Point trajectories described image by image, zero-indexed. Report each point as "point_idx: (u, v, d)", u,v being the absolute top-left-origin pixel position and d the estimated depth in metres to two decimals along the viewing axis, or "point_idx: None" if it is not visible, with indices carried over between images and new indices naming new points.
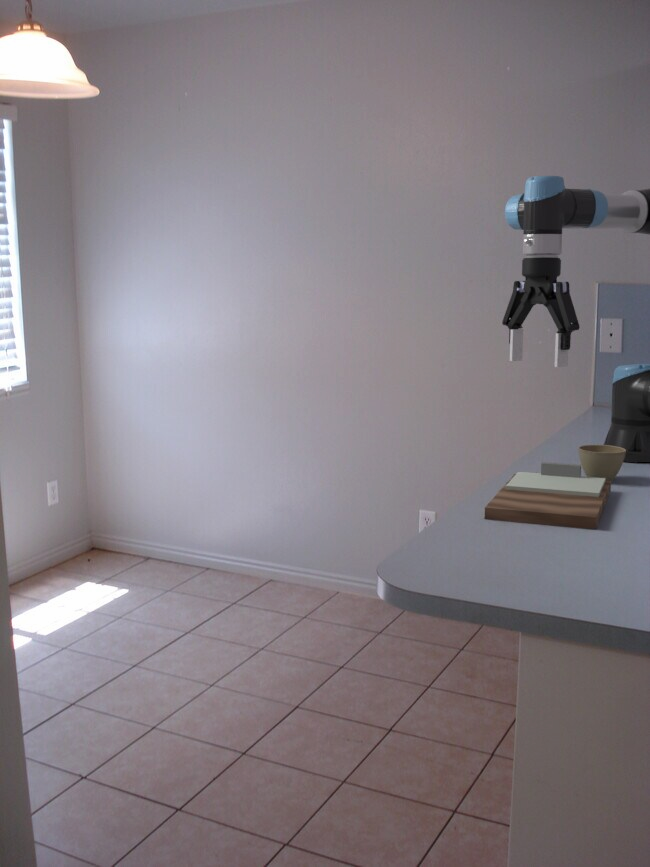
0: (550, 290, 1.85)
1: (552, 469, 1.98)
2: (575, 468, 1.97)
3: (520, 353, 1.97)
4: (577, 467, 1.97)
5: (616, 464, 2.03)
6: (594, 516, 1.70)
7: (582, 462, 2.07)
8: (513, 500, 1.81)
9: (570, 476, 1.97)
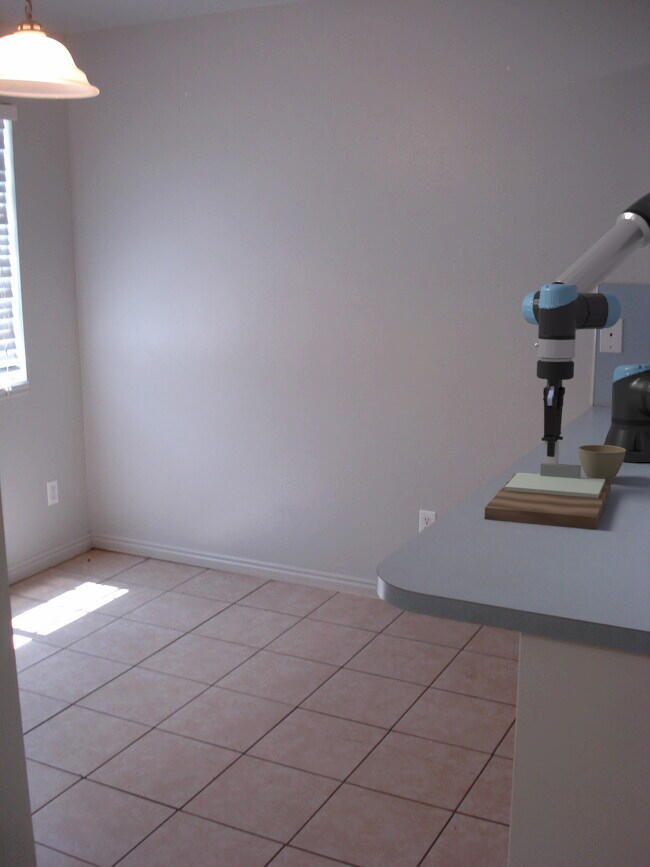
0: (547, 393, 1.95)
1: (551, 470, 1.98)
2: (575, 469, 1.96)
3: None
4: (577, 468, 1.96)
5: (616, 464, 2.03)
6: (594, 516, 1.70)
7: (582, 462, 2.07)
8: (513, 500, 1.81)
9: (569, 477, 1.96)
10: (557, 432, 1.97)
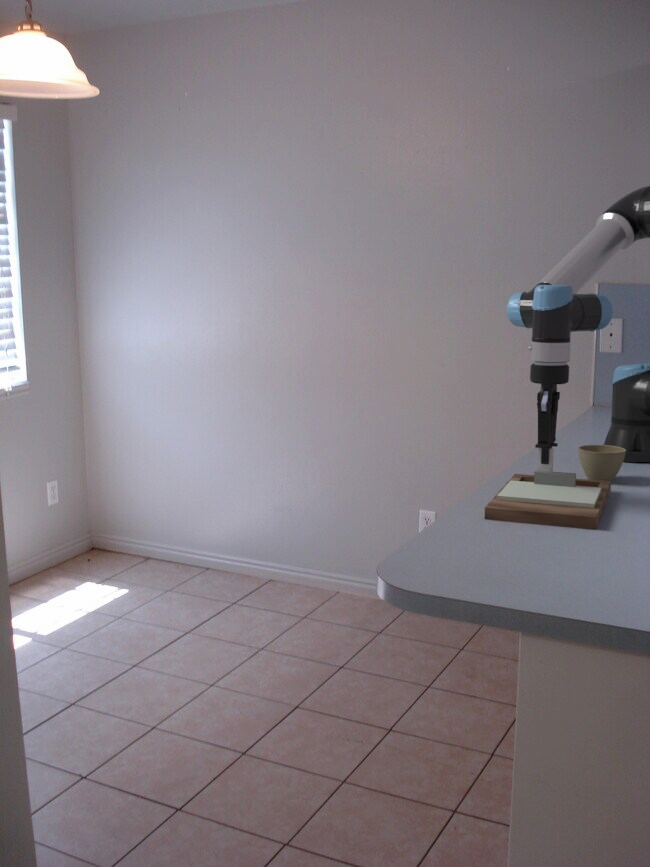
0: (541, 399, 1.87)
1: (546, 478, 1.90)
2: (570, 477, 1.88)
3: None
4: (572, 476, 1.88)
5: (616, 464, 2.03)
6: (594, 516, 1.70)
7: (582, 462, 2.07)
8: None
9: (564, 485, 1.89)
10: (551, 439, 1.89)
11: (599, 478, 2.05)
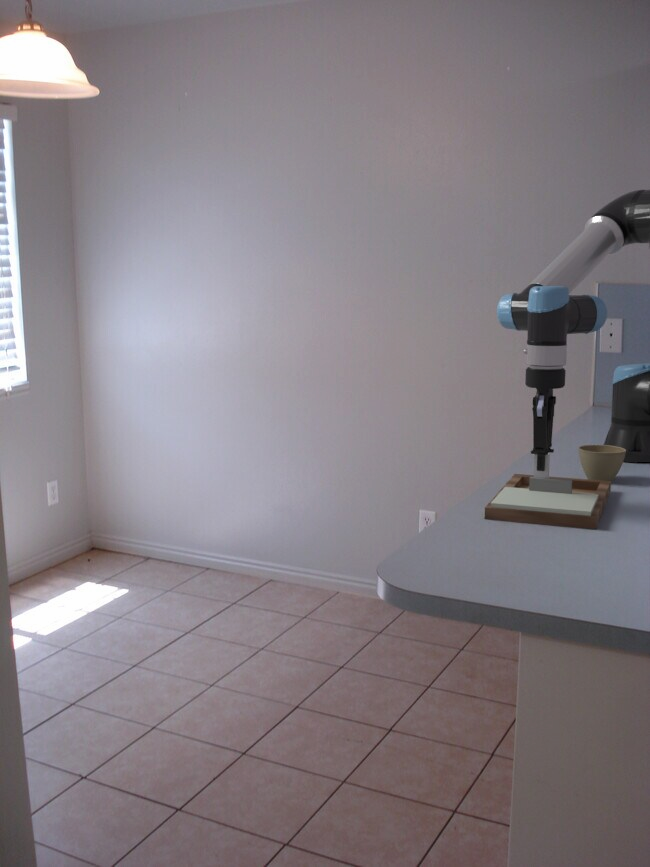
0: (537, 403, 1.81)
1: (541, 484, 1.85)
2: (566, 484, 1.83)
3: None
4: (568, 482, 1.83)
5: (616, 464, 2.03)
6: (594, 516, 1.70)
7: (582, 462, 2.07)
8: None
9: (560, 492, 1.83)
10: (547, 444, 1.84)
11: (599, 478, 2.05)
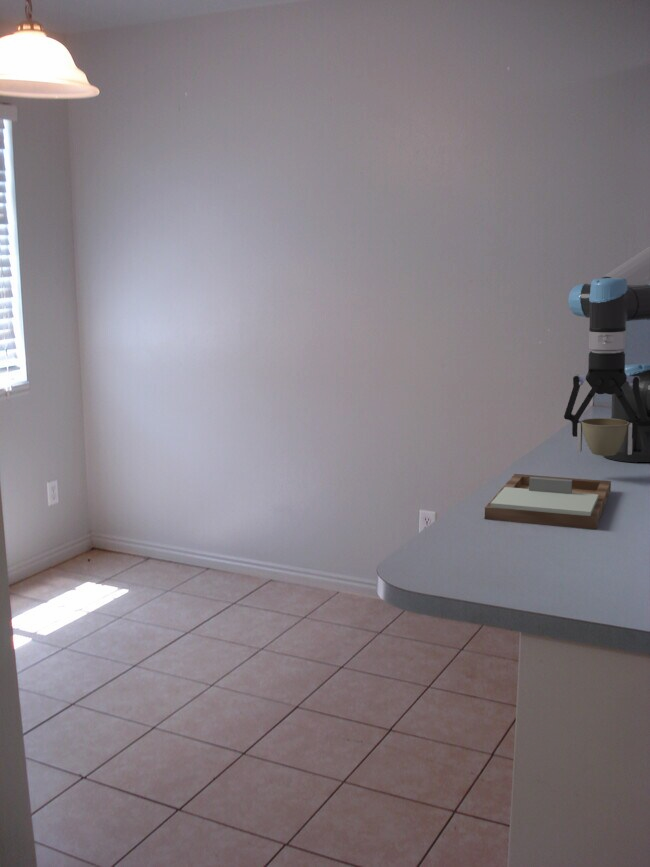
0: (623, 382, 2.02)
1: (541, 484, 1.85)
2: (566, 484, 1.83)
3: (581, 443, 2.10)
4: (568, 482, 1.83)
5: (620, 436, 2.03)
6: (594, 516, 1.70)
7: (585, 436, 2.06)
8: None
9: (560, 492, 1.83)
10: None
11: (603, 451, 2.04)
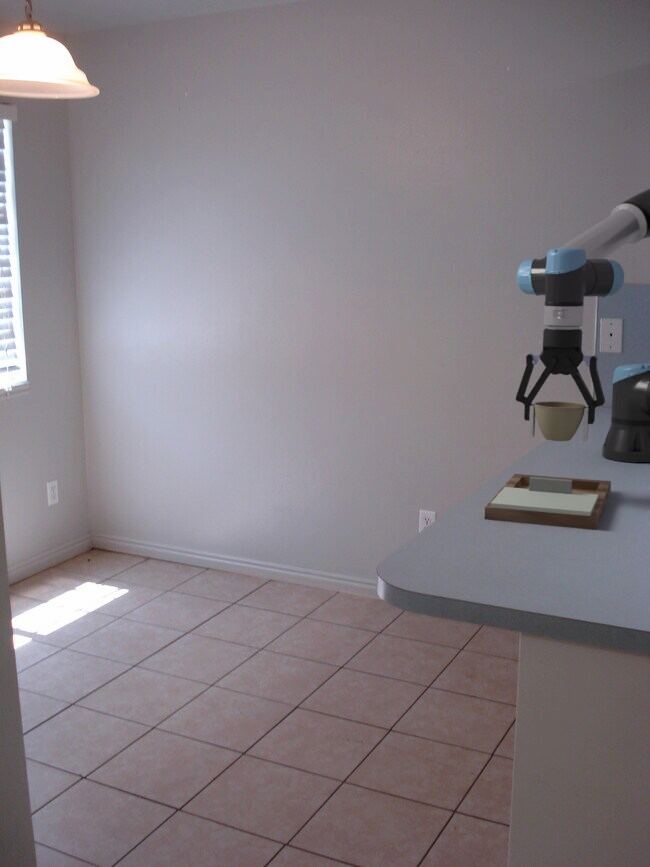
0: (580, 362, 1.87)
1: (541, 484, 1.85)
2: (566, 484, 1.83)
3: (534, 428, 1.94)
4: (568, 482, 1.83)
5: (574, 420, 1.87)
6: (594, 516, 1.70)
7: (538, 419, 1.90)
8: None
9: (560, 492, 1.83)
10: None
11: (556, 436, 1.88)
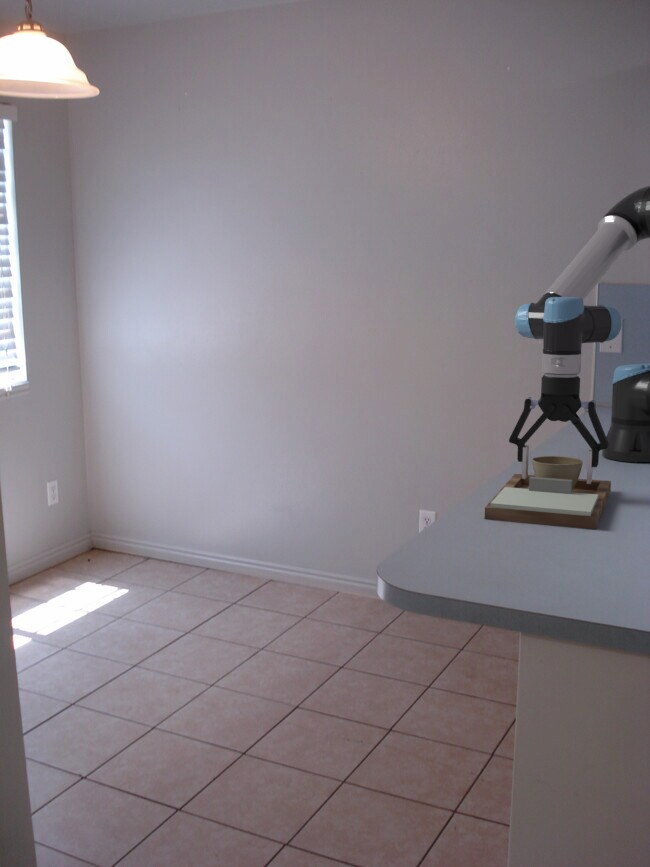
0: (578, 408, 1.88)
1: (541, 484, 1.85)
2: (566, 484, 1.83)
3: (527, 469, 1.96)
4: (568, 482, 1.83)
5: (572, 476, 1.89)
6: (594, 516, 1.70)
7: (536, 475, 1.92)
8: None
9: (560, 492, 1.83)
10: None
11: None
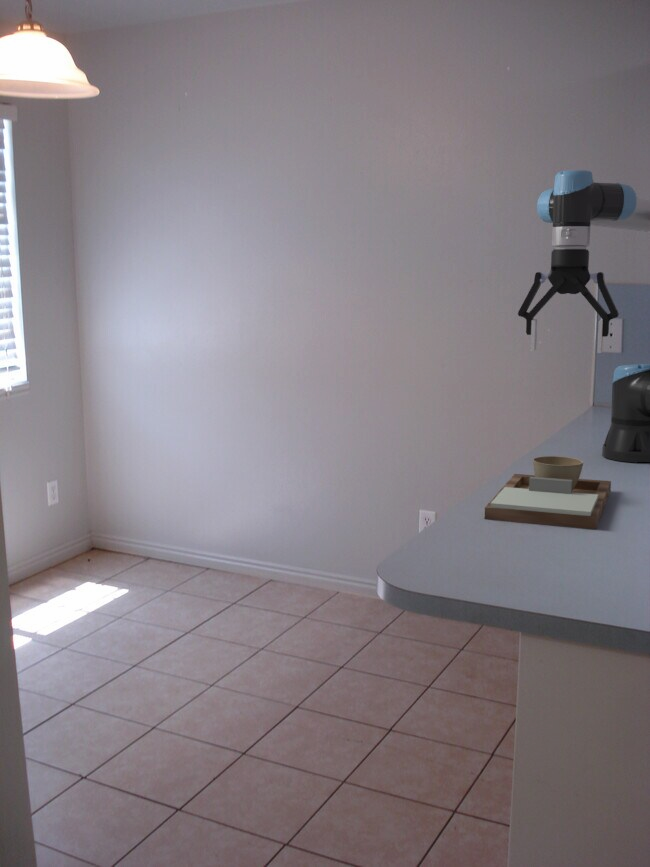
0: (587, 280, 1.94)
1: (541, 484, 1.85)
2: (566, 484, 1.83)
3: (535, 343, 2.01)
4: (568, 482, 1.83)
5: (572, 477, 1.89)
6: (594, 516, 1.70)
7: (536, 475, 1.92)
8: None
9: (560, 492, 1.83)
10: None
11: None
